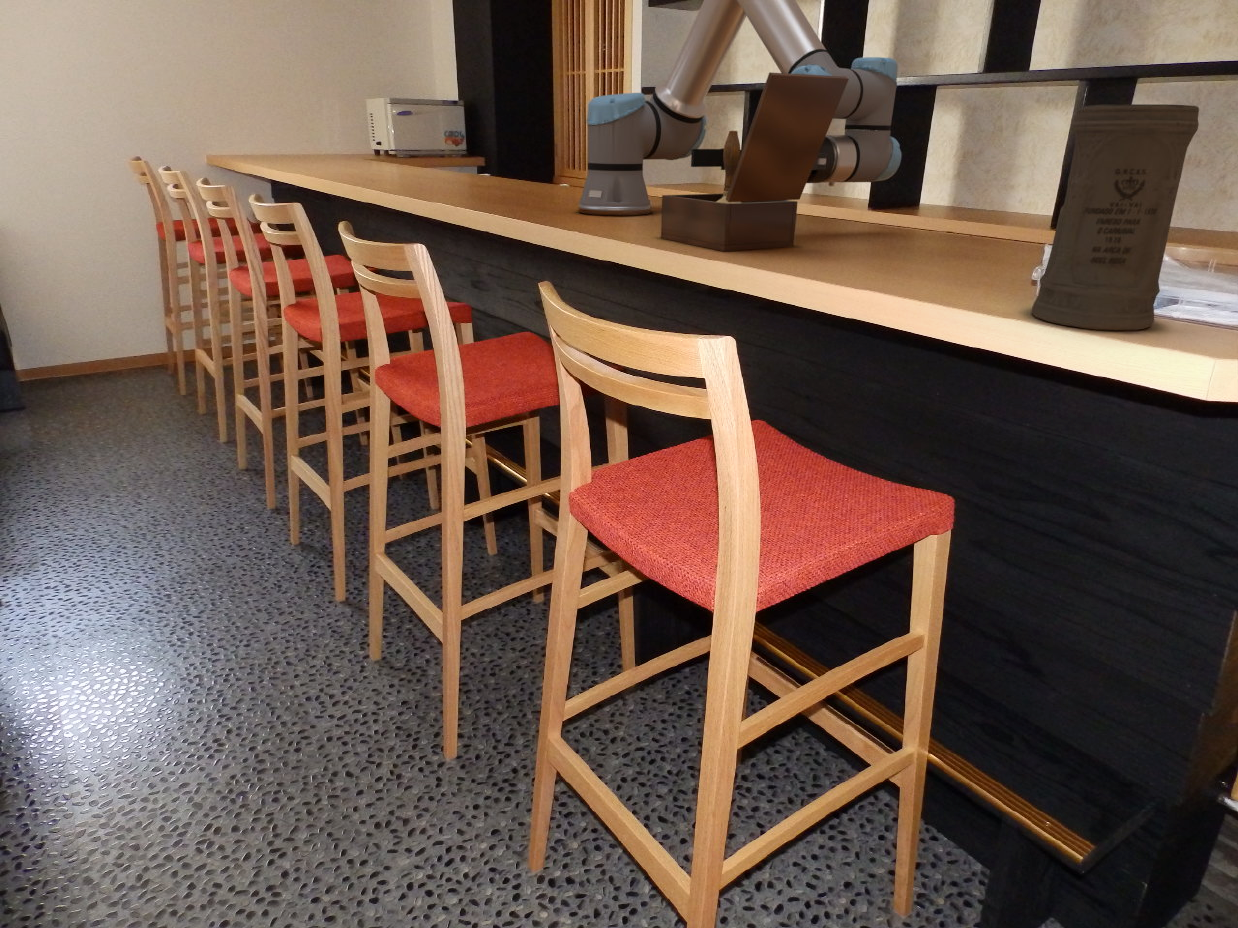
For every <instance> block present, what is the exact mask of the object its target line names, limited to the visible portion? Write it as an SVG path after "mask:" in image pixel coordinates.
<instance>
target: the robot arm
mask: <svg viewBox="0 0 1238 928" xmlns="http://www.w3.org/2000/svg"><path fill="white" fill-rule="evenodd" d="M746 18H747V19H748V21H749V22H750V25H751V26H752V27H753V29H754V30H755V32H756V34H757V35H758V37H759V39H760V40H761V42H762V44H763V45H764V47H765V48H766V50H767V52H768V53H769V56H771V58H772V60H773V62H774V63H775V65H776V67H777V68H778V70H779V73H789V74H807V75H825V76H843V77H847V78H848V79H849V80H848V83H847V85H846V87H845V90H844V92H843V95H842V97H841V100H840V102H839V104H838V107H837V109H836V112H835V114H834V117H833V119H832V120H845V122H844V123H845V124H844V134H826V136H825V139H824V141H823V144H822V146H821V148H820V151H819V153H818V156H817V158H816V161H815V163H814V166H813V168H812V170H811V173H810V175H809V178H808V180H807V183H806V184H821V183H822V184H823V183H826V184H827V183H828V186H829V187H834V186H835V183H873V182H880V181H886V180H888V179H890V178H891V177H893V176H894V174H896V173H897V171H898V169H899V167H900V164H901V163H902V162H901V161H902V151H901V148H900V147H901V144H900V143H899V142H898V140H897V139H896V138H895V137H893V136H891V128H892V127H891V126H892V120H893V114H894V105H895V99H896V91H897V88H898V82H897V80H898V66H899V64H898V62H897V60H896V59H895V58H892V57H882V56H881V57H880V56H879V57H878V56H873V57H872V56H871V57H870V56H868V57H867V56H866V57H857V58H855V59H854V60H853V61H852V63H851V67H850V68H845V67H844V68H843V67H839V66H837V64H836V63H835V61H834V60H833V58H832V56H831V55H830V53H829V52H828V51H827V49H826V47H825V46H824V44H823V43H822V41H821V40H820V38H819V36H818V34H817V33H816V31H815V30H814V28H813V27H812V26H813V25H811V23H810V21H809V20H808V18H807V17H806V15H805V13H804V12H803V10H802V8H801V6H800V5H799V4H798V2H797V1H796V0H703V2H702V4H701V6H700V8H699V10H698V13H697V14H696V16H695V19H694V21H693V23H692V25H691V27H690V29H689V32H688V33H687V36H686V39H685V41H684V43H683V45H682V47H681V49H680V51H679V53H678V55H677V58H676V60H675V62H674V65H673V67H672V69H671V71H670V73H669V76H668V77H667V80H664V81H661V82H659V83H657V84H656V86H655V88H654V90H653V92H652V94H651V96H650V98H649V100H646V98H645V94H644V93H643V92H628V93H627V92H626V93H616V94H608V95H607V94H605V95H600V96H599V95H598V96H595V97H593V98H591V99H590V101H589V102H588V104H587V117H586V124H587V125H586V126H587V139H586V140H587V146H586V147H587V156H586V157H587V159H586V161H587V169H586V170H587V173H586V177H585V181H584V185H583V188H582V191H581V192H582V193H581V198H580V199H579V201H578V212H579V213H582V214H586V215H595V216H597V215H598V216H640V215H642V216H643V215H648V214H651V210H652V206H651V200H650V199H649V194H648V189H647V186H646V181H645V177H644V160H666V161H677V160H680V159H686V158H688V157H691V159H690V167H691V168H720V171H725V167H724V161H723V152H724V147H723V148H700V147H701V146H702V144H703V142H704V139H705V137H706V133H707V129H706V128H705V126H707V118H706V115H705V114H706V112H707V108H706V104H705V102H704V100H705V98H706V96H707V94H708V92H709V90H711V89H710V88H711V87H712V84H713V83H714V81H715V79H716V77H717V75H718V73H719V71H720V69H721V68H722V65H723V63H724V61H725V59H726V58H727V55H728V53H729V52H730V49H731V47H732V45H733V43H734V42H735V40H736V37H737V36H738V34H739V32H740V30H741V28H742V26H743V23H744V22H745V20H746ZM742 150H743V149H740V156H741V153H742ZM739 159H740V158H739Z"/></svg>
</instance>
